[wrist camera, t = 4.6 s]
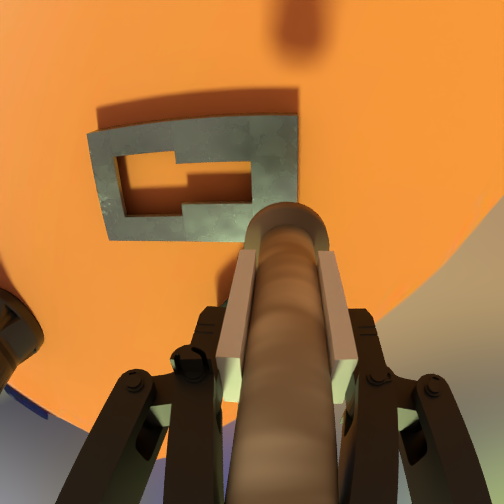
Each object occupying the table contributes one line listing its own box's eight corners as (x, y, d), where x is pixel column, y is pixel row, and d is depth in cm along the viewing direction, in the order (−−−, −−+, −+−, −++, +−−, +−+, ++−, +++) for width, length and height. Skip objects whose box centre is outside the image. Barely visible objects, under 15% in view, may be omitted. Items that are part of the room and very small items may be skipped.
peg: (247, 272, 20) (203, 527, 7) (244, 201, 17) (163, 500, 4) (323, 273, 19) (349, 530, 6) (330, 202, 17) (405, 502, 4)
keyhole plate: (117, 231, 34) (109, 240, 32) (98, 129, 27) (86, 133, 26) (295, 232, 32) (295, 243, 30) (296, 113, 25) (297, 115, 23)
